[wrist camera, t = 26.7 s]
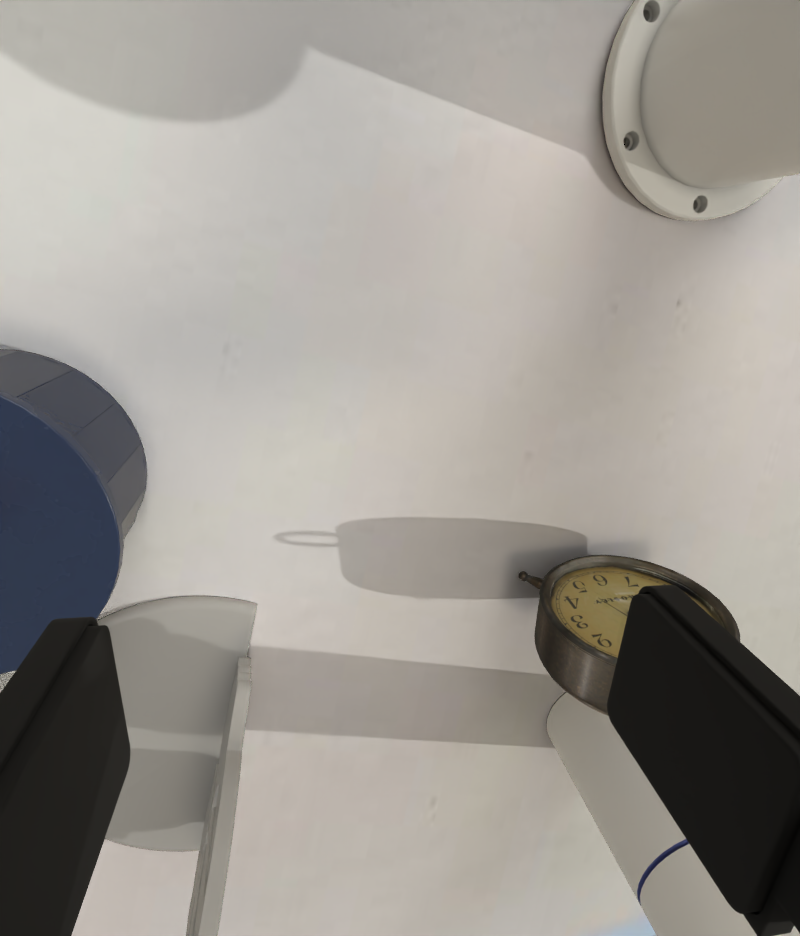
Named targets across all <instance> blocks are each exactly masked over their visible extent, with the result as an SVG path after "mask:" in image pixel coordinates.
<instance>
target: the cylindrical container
mask: <svg viewBox="0 0 800 936" xmlns="http://www.w3.org/2000/svg"><path fill="white" fill-rule="evenodd" d="M546 727H547V733H548V735H549V737H550V739H551V741H552V743H553V745H554V747H555V749H556V750H557V752H558V754H559V756H560V758H561V760H562V762H563V763H564V765H565V767H566V769H567V771H568V773H569V774H570V776H571V778H572V780H573V782H574V784H575V786H576V787H577V789H578V791H579V793H580V795H581V797H582V798H583V800H584V802H585V804H586V806H587V808H588V809H589V811H590V813H591V815H592V817H593V819H594V821H595V822H596V824H597V826H598V828H599V830H600V832H601V833H602V835H603V837H604V839H605V841H606V843H607V844H608V846H609V848H610V850H611V852H612V854H613V855H614V857H615V859H616V861H617V863H618V865H619V867H620V868H621V870H622V872H623V874H624V876H625V878H626V879H627V881H628V883H629V885H630V887H631V889H632V890H633V892H634V894H635V896H636V898H637V900H638V901H639V903H640V905H641V906H642V909H643V911H644V913H645V914H646V916H647V918H648V920H649V922H650V924H651V925H652V927H653V929H654V931H655V933H656V935H657V936H757V935H756V933H755V932H754V930H753V929H752V927H751V926H750V924H749V923H748V921H747V920H746V918H745V917H744V915H743V914H740V913H738V912H736V911H735V910H734V909H733V908H732V907H731V906H730V905H729V904H728V902H727V901H726V899H725V898H724V896H723V895H722V893H721V892H720V890H719V889H718V887H717V885H716V884H715V882H714V881H713V879H712V878H711V876H710V875H709V873H708V872H707V870H706V869H705V867H704V865H703V864H702V862H701V861H700V859H699V858H698V856H697V855H696V853H695V852H694V850H693V848H692V847H691V845H690V844H689V842H688V841H687V839H686V838H685V836H684V835H683V833H682V831H681V830H680V828H679V827H678V825H677V824H676V822H675V821H674V819H673V818H672V816H671V815H670V813H669V811H668V810H667V808H666V807H665V805H664V804H663V802H662V801H661V799H660V798H659V796H658V794H657V793H656V791H655V790H654V788H653V787H652V785H651V784H650V782H649V781H648V779H647V777H646V776H645V774H644V773H643V771H642V770H641V768H640V767H639V765H638V764H637V762H636V760H635V759H634V757H633V756H632V754H631V753H630V751H629V750H628V748H627V747H626V745H625V744H624V742H623V740H622V739H621V737H620V736H619V734H618V733H617V731H616V730H615V728H614V727H613V725H612V723H611V721H610V719H609V716H607V715H605V714H602V713H600V712H598V711H596V710H594V709H592V708H590V707H588V706H586V705H585V704H583V703H582V702H580V701H578V700H577V699H575V698H574V697H573V696H571V695H570V694H569V693H568V692H566V693H565V694H564V695H563V696H562V697H560V698H559V699H558V700H557V702H556V703H555V704H554V705H553V707H552V709H551V711H550V713H549V715H548V718H547V725H546ZM775 936H800V933H799V932H798V930H797V929H796V927H795V926H794V927H793V929H792V931H791V933H786V934H780V935H775Z"/></svg>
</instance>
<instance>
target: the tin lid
mask: <svg viewBox="0 0 800 936" xmlns="http://www.w3.org/2000/svg"><path fill="white" fill-rule="evenodd" d="M123 546H124V545H123V531H122V524H121V519H120V515H119V510H118V507H117V504H116V502H115V499H114V497H113V494H112V491H111V489H110V487H109V485H108V483H107V482H106V480H105V478H104V476H103V474H102V473H101V471H100V469H99V468H98V466H97V465H96V464H95V462H94V461H93V460H92V458H91V457H90V456H89V454H88V453H87V452H86V451H85V450H84V448H83V447H82V446H81V445H80V444H79V443H78V442H77V441H76V440H75V439H74V438H73V437H72V436H71V435H70V434H69V433H68V432H67V431H66V430H64V429H63V428H62V427H61V426H60V425H58V424H57V423H56V422H55V421H54V420H52V419H51V418H50V417H48V416H47V415H45V414H44V413H42V412H41V411H39V410H38V409H36V408H35V407H33V406H32V405H30V404H29V403H27V402H25V401H23V400H21V399H19V398H18V397H16V396H14V395H12V394H10V393H8V392H6V391H4V390H1V389H0V674H3V673H7V672H11V671H15V670H17V669H18V667H19V666H20V665H21V663H22V662H23V660H24V659H25V657H26V656H27V655H28V653H29V652H30V650H31V649H32V647H33V646H34V644H35V643H36V642H37V640H38V639H39V637H40V636H41V634H42V633H43V632H44V630H45V629H46V627H47V626H48V624H49V623H50V622H51V621H52V620H54V619H60V618H78V617H94V618H95V619H97V618H98V616H99V614H100V613H101V611H102V610H103V608H104V607H105V605H106V604H107V602H108V600H109V598H110V596H111V594H112V592H113V590H114V587H115V585H116V583H117V580H118V577H119V573H120V569H121V565H122V557H123Z"/></svg>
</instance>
